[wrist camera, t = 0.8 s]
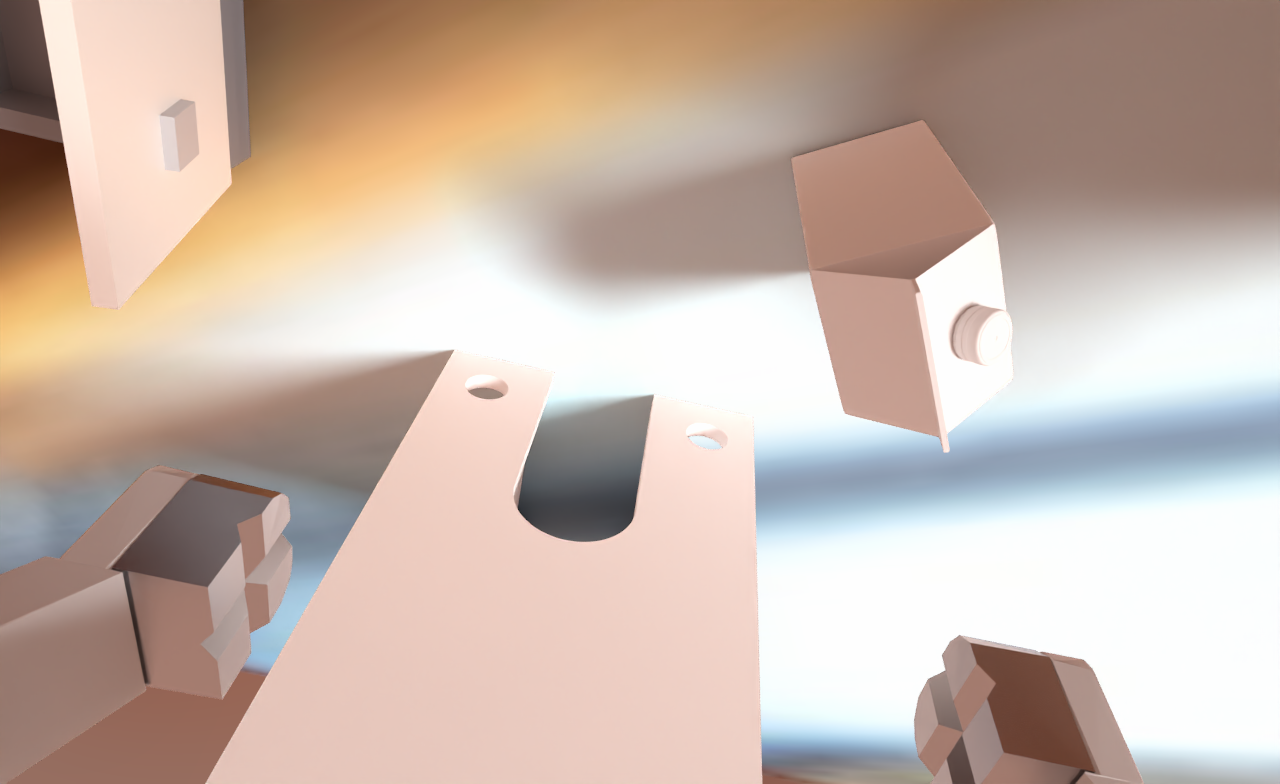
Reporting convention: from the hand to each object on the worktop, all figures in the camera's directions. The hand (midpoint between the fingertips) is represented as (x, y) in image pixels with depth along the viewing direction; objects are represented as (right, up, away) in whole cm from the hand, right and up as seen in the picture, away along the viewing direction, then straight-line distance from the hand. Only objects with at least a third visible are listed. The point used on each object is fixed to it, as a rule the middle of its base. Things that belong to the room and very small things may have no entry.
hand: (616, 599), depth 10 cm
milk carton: (+13, +13, +37) cm, 41 cm away
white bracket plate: (-3, -3, +49) cm, 49 cm away
